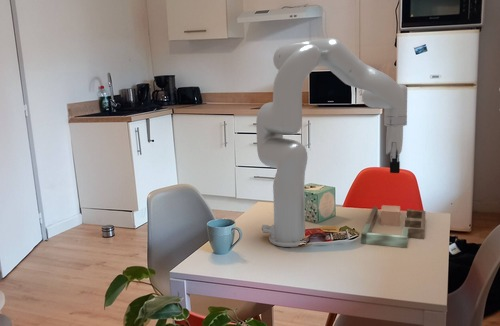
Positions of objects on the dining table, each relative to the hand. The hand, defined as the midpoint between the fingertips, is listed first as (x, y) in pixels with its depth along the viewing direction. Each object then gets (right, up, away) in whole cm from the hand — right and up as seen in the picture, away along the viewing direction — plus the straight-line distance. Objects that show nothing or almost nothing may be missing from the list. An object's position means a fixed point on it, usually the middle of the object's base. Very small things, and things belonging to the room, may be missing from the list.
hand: (394, 172), depth 172 cm
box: (-4, -18, -15) cm, 24 cm away
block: (-3, -17, -6) cm, 18 cm away
